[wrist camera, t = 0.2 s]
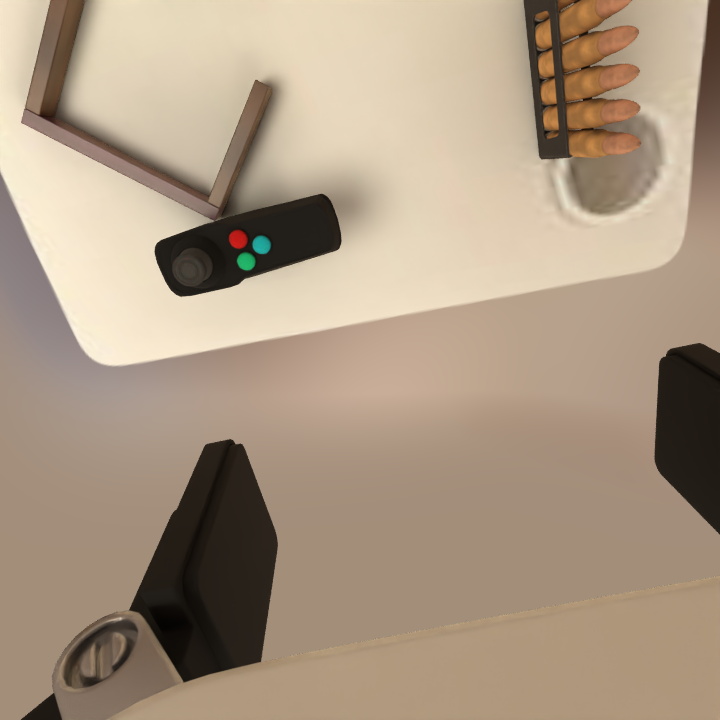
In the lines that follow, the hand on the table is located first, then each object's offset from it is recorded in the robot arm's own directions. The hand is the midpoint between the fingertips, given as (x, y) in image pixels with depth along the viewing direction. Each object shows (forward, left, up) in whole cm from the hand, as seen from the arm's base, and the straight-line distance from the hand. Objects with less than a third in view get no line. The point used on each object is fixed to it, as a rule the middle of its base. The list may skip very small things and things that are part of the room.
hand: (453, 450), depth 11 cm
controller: (+4, -7, -31) cm, 32 cm away
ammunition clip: (-15, +6, -31) cm, 35 cm away
